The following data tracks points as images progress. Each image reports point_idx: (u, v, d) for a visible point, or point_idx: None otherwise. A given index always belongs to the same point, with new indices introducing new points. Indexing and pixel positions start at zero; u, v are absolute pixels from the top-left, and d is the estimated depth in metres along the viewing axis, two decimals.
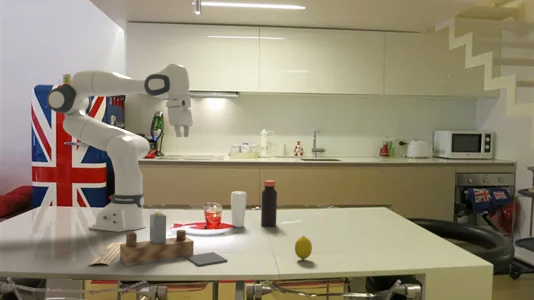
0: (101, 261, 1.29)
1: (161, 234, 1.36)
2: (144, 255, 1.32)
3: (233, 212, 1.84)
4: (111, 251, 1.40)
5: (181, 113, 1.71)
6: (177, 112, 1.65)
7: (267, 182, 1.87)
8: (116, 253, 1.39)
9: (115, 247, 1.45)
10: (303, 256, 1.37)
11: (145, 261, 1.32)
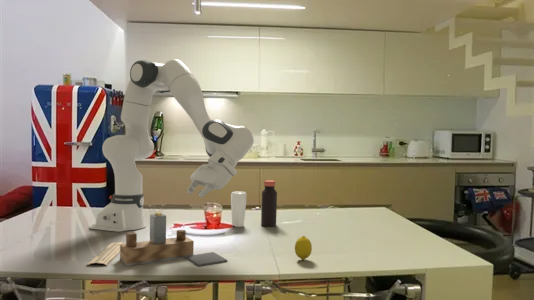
0: (99, 261, 1.29)
1: (161, 234, 1.36)
2: (144, 255, 1.32)
3: (233, 212, 1.84)
4: (110, 251, 1.40)
5: None
6: (228, 179, 1.40)
7: (267, 182, 1.87)
8: (115, 253, 1.39)
9: (114, 247, 1.45)
10: (303, 256, 1.37)
11: (145, 261, 1.32)
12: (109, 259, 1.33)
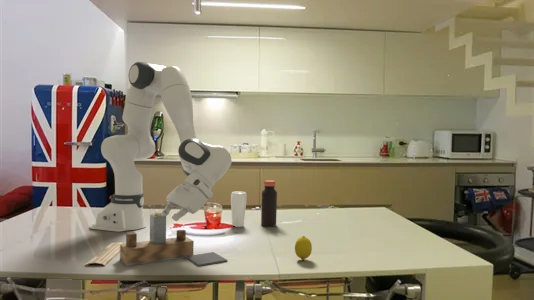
0: (97, 261, 1.29)
1: (161, 234, 1.36)
2: (144, 255, 1.32)
3: (233, 212, 1.84)
4: (109, 251, 1.40)
5: None
6: (203, 203, 1.35)
7: (267, 182, 1.87)
8: (114, 253, 1.39)
9: (114, 247, 1.45)
10: (303, 256, 1.37)
11: (145, 261, 1.32)
12: (108, 259, 1.33)
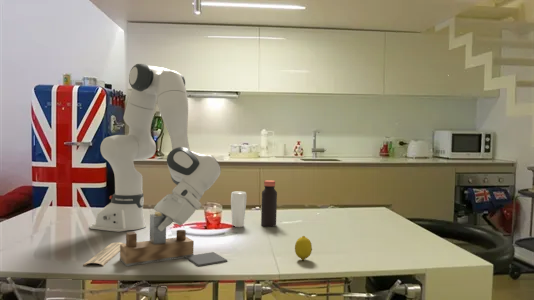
0: (95, 261, 1.29)
1: (161, 234, 1.36)
2: (144, 255, 1.32)
3: (233, 212, 1.84)
4: (108, 251, 1.40)
5: None
6: (191, 214, 1.33)
7: (267, 182, 1.87)
8: (113, 253, 1.39)
9: (114, 247, 1.45)
10: (303, 256, 1.37)
11: (145, 261, 1.32)
12: (106, 259, 1.32)
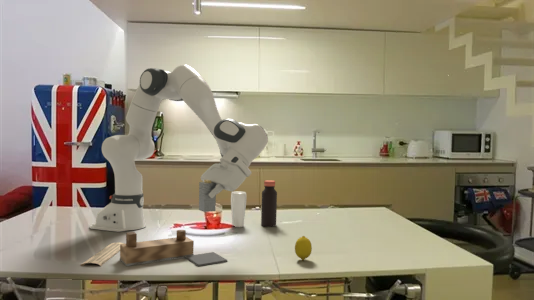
0: (93, 261, 1.29)
1: (211, 201, 1.35)
2: (144, 255, 1.32)
3: (233, 212, 1.84)
4: (107, 251, 1.40)
5: None
6: (242, 180, 1.32)
7: (267, 182, 1.87)
8: (112, 253, 1.39)
9: (113, 247, 1.45)
10: (303, 256, 1.37)
11: (145, 261, 1.32)
12: (104, 259, 1.32)
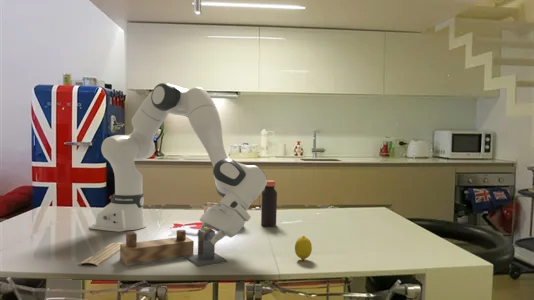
0: (90, 261, 1.29)
1: (210, 249, 1.35)
2: (144, 255, 1.32)
3: None
4: (106, 251, 1.40)
5: None
6: (241, 226, 1.32)
7: (267, 182, 1.87)
8: (110, 253, 1.39)
9: (112, 247, 1.45)
10: (303, 256, 1.37)
11: (145, 261, 1.32)
12: (102, 259, 1.32)
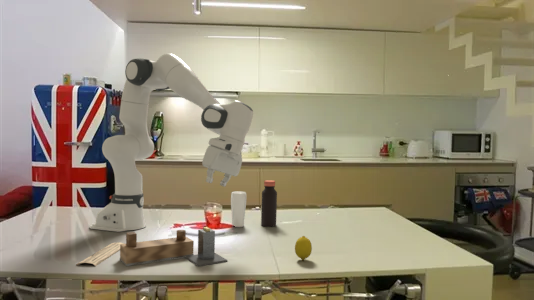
0: (89, 261, 1.29)
1: (210, 249, 1.35)
2: (144, 255, 1.32)
3: (233, 212, 1.84)
4: (105, 251, 1.40)
5: (223, 157, 1.43)
6: (215, 154, 1.38)
7: (267, 182, 1.87)
8: (109, 253, 1.39)
9: (112, 247, 1.45)
10: (303, 256, 1.37)
11: (145, 261, 1.32)
12: (100, 259, 1.32)
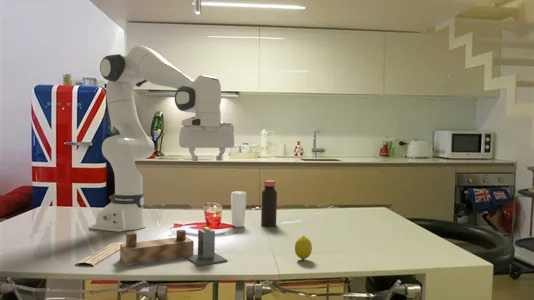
0: (87, 261, 1.29)
1: (210, 249, 1.35)
2: (144, 255, 1.32)
3: (233, 212, 1.84)
4: (105, 251, 1.40)
5: (199, 133, 1.46)
6: (184, 133, 1.43)
7: (267, 182, 1.87)
8: (109, 253, 1.39)
9: (112, 247, 1.45)
10: (303, 256, 1.37)
11: (145, 261, 1.32)
12: (99, 259, 1.32)
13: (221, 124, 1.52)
